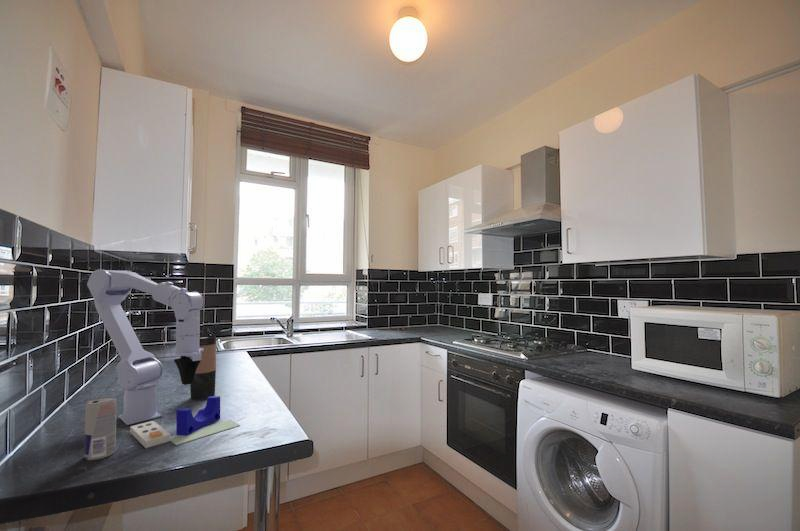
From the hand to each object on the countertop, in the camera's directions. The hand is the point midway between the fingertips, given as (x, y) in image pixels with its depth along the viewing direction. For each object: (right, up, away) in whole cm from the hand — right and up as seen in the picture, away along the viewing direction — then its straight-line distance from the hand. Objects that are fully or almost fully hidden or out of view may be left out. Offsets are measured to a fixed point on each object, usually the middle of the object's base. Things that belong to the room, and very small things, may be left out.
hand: (187, 383), depth 101 cm
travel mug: (-7, -11, +20) cm, 24 cm away
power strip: (-3, -9, -11) cm, 15 cm away
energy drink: (-7, -9, -21) cm, 24 cm away
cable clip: (+6, -10, -6) cm, 12 cm away
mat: (+10, -9, -9) cm, 16 cm away
